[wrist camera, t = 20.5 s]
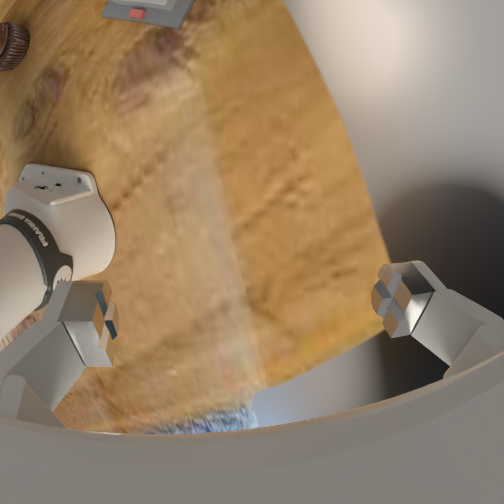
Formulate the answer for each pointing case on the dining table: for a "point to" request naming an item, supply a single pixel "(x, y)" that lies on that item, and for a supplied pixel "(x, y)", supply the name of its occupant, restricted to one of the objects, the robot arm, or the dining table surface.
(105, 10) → the socket plate
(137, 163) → the dining table surface
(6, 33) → the cupcake
